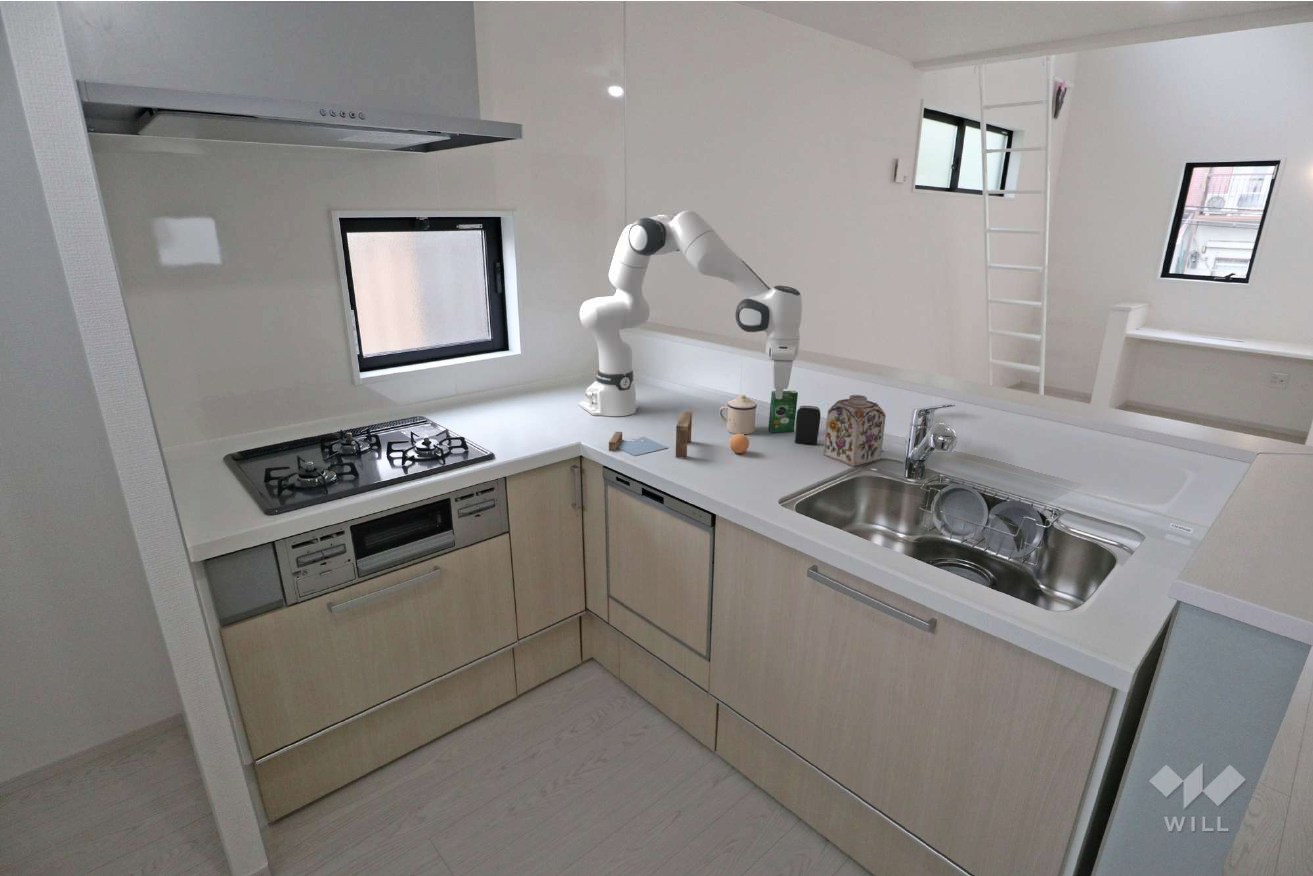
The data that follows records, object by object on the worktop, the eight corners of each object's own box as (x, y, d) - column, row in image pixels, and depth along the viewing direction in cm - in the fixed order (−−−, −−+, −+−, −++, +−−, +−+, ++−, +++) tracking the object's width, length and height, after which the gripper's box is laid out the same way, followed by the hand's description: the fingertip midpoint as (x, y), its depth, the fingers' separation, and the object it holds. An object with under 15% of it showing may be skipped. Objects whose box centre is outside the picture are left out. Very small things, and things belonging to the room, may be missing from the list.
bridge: (675, 457, 190) (676, 425, 187) (681, 440, 203) (682, 411, 200) (686, 458, 189) (687, 426, 186) (691, 441, 203) (692, 411, 200)
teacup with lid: (758, 429, 216) (761, 393, 212) (749, 437, 208) (752, 400, 204) (723, 423, 221) (725, 389, 217) (713, 431, 213) (714, 395, 209)
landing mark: (611, 444, 199) (611, 444, 199) (644, 437, 206) (644, 436, 206) (634, 456, 190) (634, 455, 190) (668, 448, 197) (668, 447, 197)
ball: (725, 451, 195) (726, 433, 193) (739, 448, 198) (740, 430, 196) (738, 457, 190) (739, 438, 189) (752, 453, 194) (753, 435, 192)
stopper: (608, 450, 194) (608, 442, 193) (615, 439, 204) (615, 431, 203) (615, 450, 194) (615, 442, 193) (622, 439, 203) (622, 431, 203)
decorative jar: (853, 467, 184) (860, 404, 179) (821, 455, 193) (827, 394, 188) (882, 459, 191) (890, 398, 185) (850, 448, 200) (856, 389, 194)
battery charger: (818, 441, 204) (821, 405, 201) (817, 445, 201) (821, 409, 197) (794, 439, 206) (797, 403, 202) (793, 443, 203) (797, 407, 199)
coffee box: (791, 429, 216) (794, 389, 212) (795, 432, 213) (798, 391, 209) (767, 430, 214) (770, 390, 210) (770, 433, 212) (773, 392, 207)
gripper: (770, 340, 193) (766, 387, 198) (771, 354, 174) (767, 406, 178) (792, 341, 192) (788, 388, 197) (795, 355, 173) (791, 407, 178)
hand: (778, 397), depth 187 cm, fingers closed
